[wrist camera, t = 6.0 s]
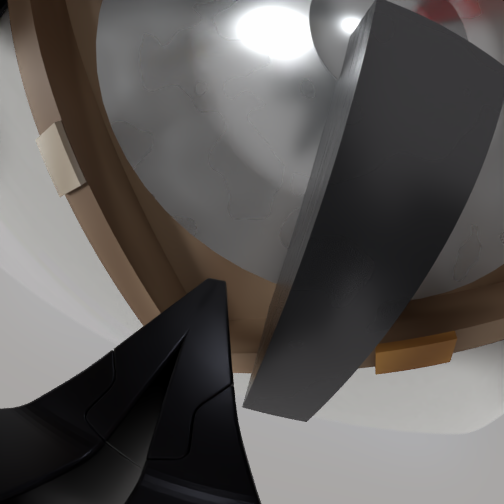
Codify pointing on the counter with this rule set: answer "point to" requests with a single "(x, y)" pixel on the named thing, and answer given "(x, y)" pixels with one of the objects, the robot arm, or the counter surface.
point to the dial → (318, 158)
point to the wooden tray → (167, 228)
